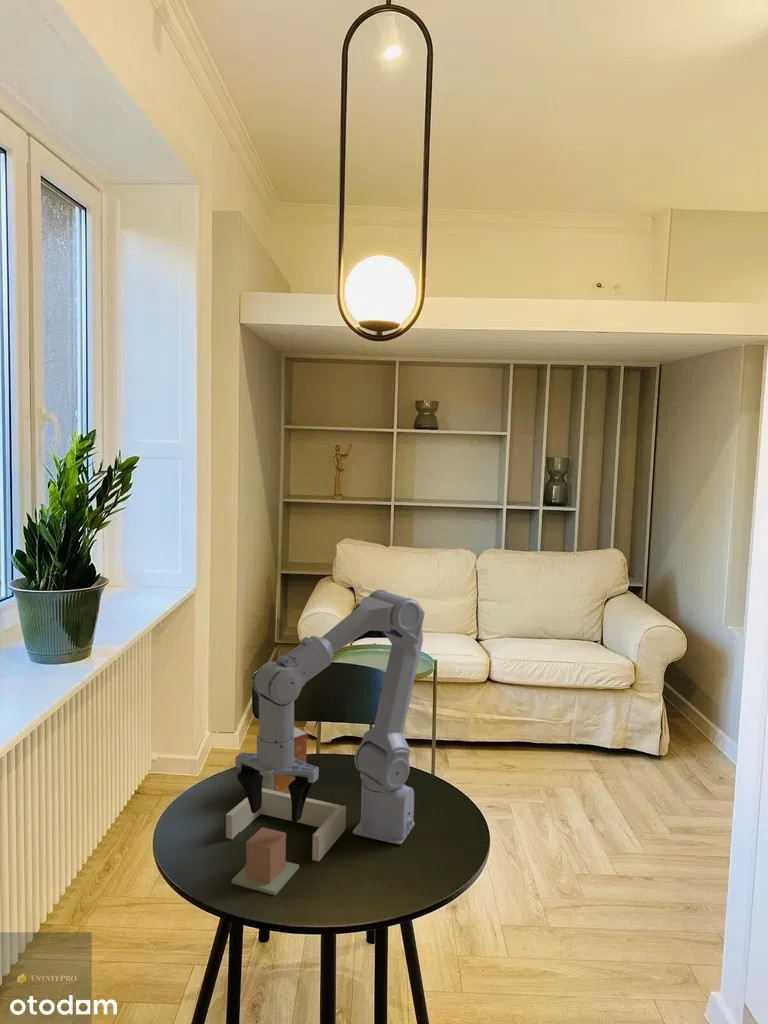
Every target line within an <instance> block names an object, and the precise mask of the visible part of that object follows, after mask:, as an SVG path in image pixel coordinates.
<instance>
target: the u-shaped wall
mask: <svg viewBox="0 0 768 1024" xmlns="http://www.w3.org/2000/svg"><path fill="white" fill-rule="evenodd" d="M346 814H347V806H346V805H340V804H338V803H337V804H336V803H332V802H327V801H323V800H319V799H314V798H309V797H306V800H305V803H304V807H303V811H302V817H301V818H300V819H299V820H298V821H297V822H296V823H297V824H304V825H307V826H310V827H311V826H312V827H315V828H318V829H316V831H315V832H314V833H313V834H312V854H311V855H312V858H311V859H312V861H313V862H320V861H321V860H322V859H323V857H324V856H325V855H326V854H327V853H328V852H329V850H330V849H331V848H332V846H334V844H335V843H336V842H337V840H338V839H339V838H340V837H341V836H342V835H343V833H344V832H345V831H346V828H347V827H346V826H347V825H346V821H347V815H346ZM260 815H264V816H269V817H273V818H278V819H281V820H285V821H286V820H287V821H290V822H292V803H291V796H290V794H287V793H282V792H278V791H273V790H269V789H264V788H262V804H261V808H260V809H259V810H258V811H257V812H256V813H252V812H251V808H250V804H249V801H248V798H247V797H245V798H243V800H242V801H241V802H239V803H238V804H237V805H235V807H233V808H232V809H231V810H229V811H228V812H227V813H226V815H225V818H226V819H225V828H226V829H225V836H226V837H225V838H229V839H228V840H230V839H232V840H233V839H235V838H236V837H237V836H238V835H239V834H240V833H241V832H242V831H243V830H245V829H246V828H247V827H248V826H249V825H250V824H251V823H253V822H254V821H255V820H256V819H257V818H258V817H259V816H260ZM239 832H240V833H239ZM238 833H239V834H238ZM237 834H238V835H237ZM236 835H237V836H236ZM235 836H236V837H235ZM234 837H235V838H234Z"/></svg>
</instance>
